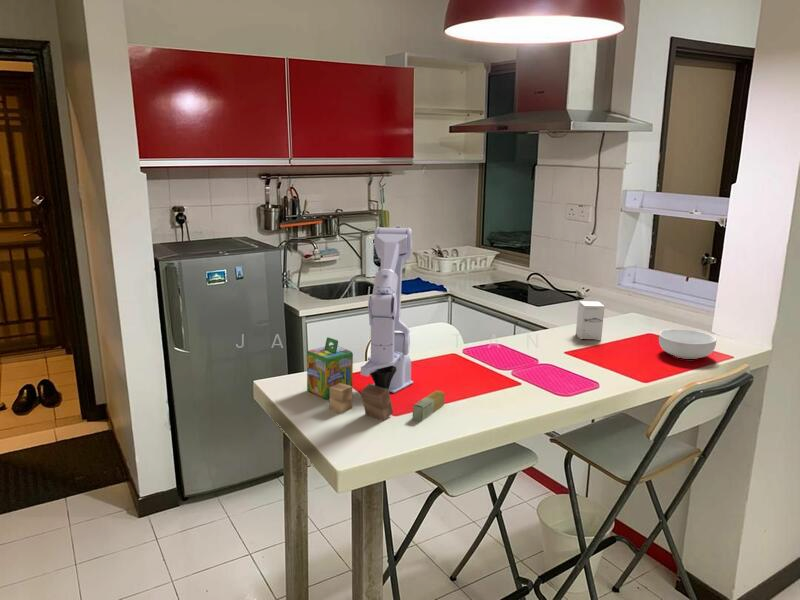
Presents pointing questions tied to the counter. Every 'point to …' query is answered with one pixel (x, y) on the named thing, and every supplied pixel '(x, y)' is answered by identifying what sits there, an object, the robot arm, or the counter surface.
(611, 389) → the counter surface
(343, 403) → the oak block
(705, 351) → the cereal bowl
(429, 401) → the medication box
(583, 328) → the supplement box
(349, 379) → the chalk box
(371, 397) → the walnut block
